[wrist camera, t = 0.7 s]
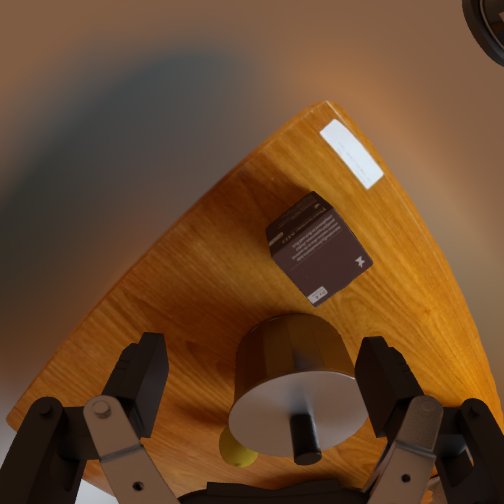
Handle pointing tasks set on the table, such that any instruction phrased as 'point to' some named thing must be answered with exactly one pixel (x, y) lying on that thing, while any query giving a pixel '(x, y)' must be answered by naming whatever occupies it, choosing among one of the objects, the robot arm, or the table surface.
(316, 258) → the box
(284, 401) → the pot lid
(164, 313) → the table surface
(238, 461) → the lemon
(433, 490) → the mushroom
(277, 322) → the pot
